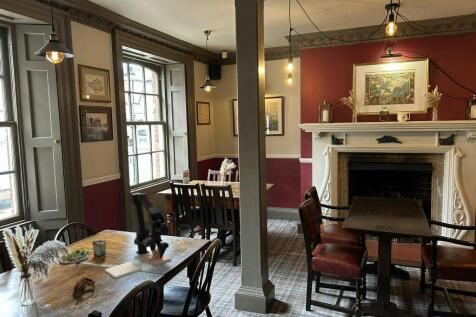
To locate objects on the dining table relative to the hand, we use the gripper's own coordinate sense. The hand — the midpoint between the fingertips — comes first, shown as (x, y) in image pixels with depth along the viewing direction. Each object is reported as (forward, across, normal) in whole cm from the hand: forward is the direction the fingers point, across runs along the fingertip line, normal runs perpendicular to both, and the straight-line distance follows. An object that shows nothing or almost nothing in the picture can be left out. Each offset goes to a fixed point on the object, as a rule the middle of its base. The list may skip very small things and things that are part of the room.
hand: (157, 256), depth 212 cm
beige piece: (+2, 0, 0) cm, 2 cm away
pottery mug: (+3, +11, -48) cm, 50 cm away
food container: (+2, -31, -22) cm, 38 cm away
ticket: (+2, 0, -22) cm, 22 cm away
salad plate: (+3, -42, -35) cm, 55 cm away
